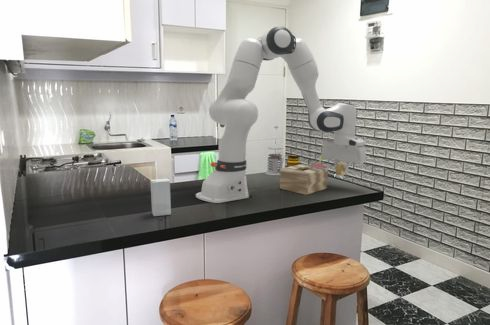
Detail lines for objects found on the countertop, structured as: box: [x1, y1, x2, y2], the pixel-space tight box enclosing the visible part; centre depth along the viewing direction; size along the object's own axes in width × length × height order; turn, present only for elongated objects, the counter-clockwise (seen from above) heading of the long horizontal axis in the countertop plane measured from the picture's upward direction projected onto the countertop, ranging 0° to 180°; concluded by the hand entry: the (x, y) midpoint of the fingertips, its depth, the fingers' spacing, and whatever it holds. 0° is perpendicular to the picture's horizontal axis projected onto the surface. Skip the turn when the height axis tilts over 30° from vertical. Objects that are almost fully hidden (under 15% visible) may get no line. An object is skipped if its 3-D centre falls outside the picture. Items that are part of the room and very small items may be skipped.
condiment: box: [286, 154, 300, 167], centre depth 182 cm, size 7×8×12 cm
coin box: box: [279, 163, 329, 196], centre depth 164 cm, size 16×14×9 cm
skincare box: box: [149, 178, 172, 217], centre depth 125 cm, size 6×4×12 cm
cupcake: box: [310, 155, 327, 168], centre depth 187 cm, size 9×8×12 cm
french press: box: [265, 125, 284, 176], centre depth 191 cm, size 10×12×25 cm
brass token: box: [335, 161, 348, 177], centre depth 164 cm, size 5×2×5 cm, turn 135°
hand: (341, 170), depth 164 cm, fingers closed on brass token, 2 cm apart
